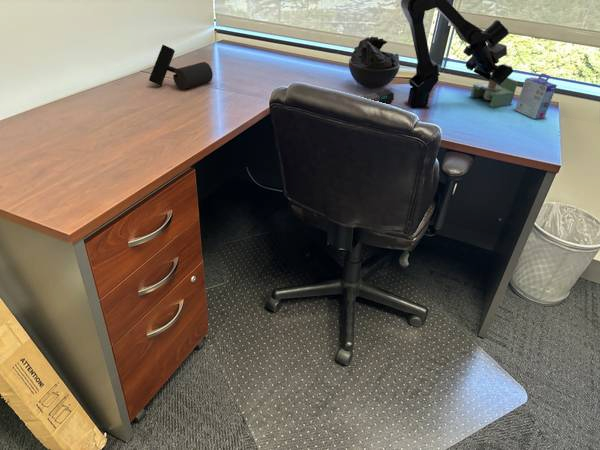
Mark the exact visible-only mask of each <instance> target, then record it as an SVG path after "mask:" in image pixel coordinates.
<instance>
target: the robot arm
mask: <svg viewBox="0 0 600 450" xmlns="http://www.w3.org/2000/svg"><path fill="white" fill-rule="evenodd" d="M400 7H401V11H402V12H403V15H404V17H405V18H406V21H407V22H408V24H409V28H410V32H411V37H412V41H413V46H414V51H415V56H416V61H417V64H416V68H415V74H414V75H413V76H412V77H411V78H410V79H409V80H408V83H409V86H411V87H409V92H408V99H407V100H405V103H406V104H407V105H408V106H409V107H410V108H412V109H428V108H429V106H428V103H429V98H430V93H431V92H432V90H433V88H434V87H435V86H436V85H437V83H438V82H439V77H440V76H441V74H440V73H439V64H437V63H436V62H434V61H433V60H432V59H431V55H430V49H429V45H428V39H427V33H426V29H425V24H424V19H425V15H426V12H427V11H431V10H433V9H435V10H437V12H439V14H440V15H441V16H443V17H444V19H446V20H447V21H448V23H449V24H450V25H451V26H452V27H453V29H454V31H455V33H456V35H457V37H458V38H459V40H461V41H462V42H464V43H466V44H467V45H466V46H465V48H464V50H463V52H462V53H463V54H464V55H466V56H467V57H470V56H471V57H470V58H469V59H468V60H467V61H466V63H465V67H466V69H467V70H469V71H473V73H475V74H477V75H478V76H480V77H482V78H484V79H485V80H488V82H489V81H490V79H491V80H492V81H494V82H495V83H497V84H499V85H501V84H502V82H504V81H505V80H506V78H507V77H508V78H509V77H510V76H511V75H512V74H513V72H514V69H513V67H512V66H511V65H508V64H506V63H501V64H498V63H499V62H500V59H501V58H503V57H505V56H507V55H508V46H507V45H505V44H502V43H500V42H501V41H502V40H504V39H505V38H506V37H507V36H509V30H508V29H507V27H505V25H504V24H502V23H501V21H500V20H498V19H496V20H494V21H493V22H492V23H491V24H490V25H489V26H488V27H487V28H486V29H485V30H483V29H481V28H479V27H478V26H477V25H475V24H473V23H471V22H470V21H468V20H467V19H466V18H464V16H463V15H462V14H460V12H459V11H458V10H457V9H456V8H455V7H454V6H453V5H452V4H451V2H449V0H401V1H400ZM492 71H493V76H492V77H491V73H492ZM490 77H491V78H490Z"/></svg>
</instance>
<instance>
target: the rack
mask: <svg viewBox="0 0 600 450" xmlns="http://www.w3.org/2000/svg"><path fill="white" fill-rule="evenodd" d="M518 83H519V81H518V80H515V79H513V78H510V77H509V76H508V77H507V78H506V80H505V81H504V82H502V84H501V85H499V84H496V85H498V86H500V87H501V90H500V91H490V92H489V93H488V94H489V95H491V96H493V97H492V100H490V103H489V107H490V108H497V107H504V106H505V107H506V106H510V105H512V103H513V99H514V96H515V93H516V90H517V87H518ZM483 84H489V82H482V83H474V84H473V85H472V89H471V92H470V98H472V99H474V98H482V97H484V94H485V91H486V90H485V89H483V88H482V85H483Z"/></svg>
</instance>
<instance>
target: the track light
mask: <svg viewBox="0 0 600 450" xmlns="http://www.w3.org/2000/svg"><path fill="white" fill-rule="evenodd" d="M175 53H176V51H175V49H174V48H172V47H170V46H168V45H165V44H162V45H161V48H160V50H159V53H158V55H157V58H156V59H155V63H154V65H153V68H152V70H151V73H150V76H149V78H148V81H149V82H151V83H153V84H155V85H158V86H159V87H162V85H163V83H164V81H165V77H166V75H167V72H171V73H174V74H173V75H172V77H173V78H172V79H173V82H174V84H175V86H176V87H177V88H178V89H179V90H181V91H182V90H183V91H184V90H187V89H191V88H193V87H196V86H199V85H200V86H201V85H203V84H204V85H205V84H207V83H210V82H212V80H213V78H214V77H213V75H214V73H213V69H212V67H211V66H210V65H209V63H208V62H206V61H202V62H198V63H194V64H190V65H186V66H183V67H182V66H181V67H179V68H176V67H174V66H170V64H171V62H172V61H173V58H174V55H175Z"/></svg>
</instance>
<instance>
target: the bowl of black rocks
mask: <svg viewBox="0 0 600 450" xmlns="http://www.w3.org/2000/svg"><path fill="white" fill-rule="evenodd" d="M387 43H388V41H386V40H384V38H379V37H378V36H370V37H369V36H368V37H366V38H364V39H361V40H359V41H358V45H357V46H355V47H354V50H353V51H352V53H351V56H350V58H349V59H348V68H349V72H350V74H351V76H352V78H353V80H354V81H355V82H356V83H357V84H358V85H359V86H361V87H363V88H366V89H371V90H374V89H375V90H376V89H380V88H381V89H382V88H383V87H385V86H387V85H389V84H390V83H391V82H392V81H393V80H394V79H395V78H396V76H397V75H398V73H399V70H400V68H401V64H400V56H399V54H398V53H395V54H394V53H393V52H388V51H382V48H383V46H384V45H386V44H387Z"/></svg>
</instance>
